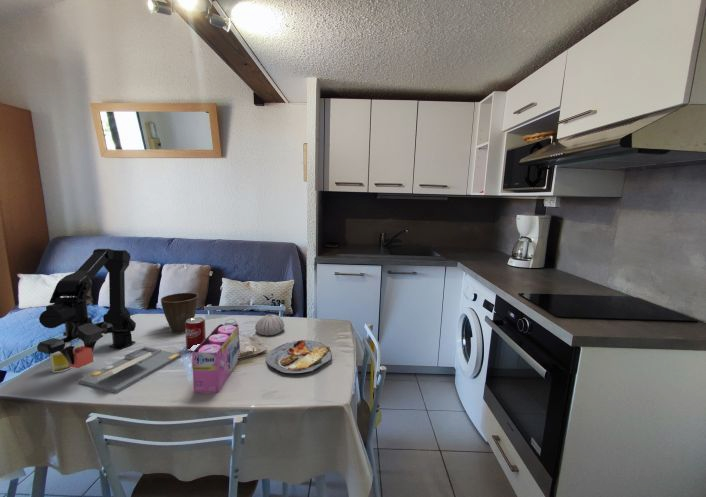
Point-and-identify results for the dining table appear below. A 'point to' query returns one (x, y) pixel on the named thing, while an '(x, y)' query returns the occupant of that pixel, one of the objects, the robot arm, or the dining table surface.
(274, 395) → the dining table surface
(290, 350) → the food plate
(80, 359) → the red block
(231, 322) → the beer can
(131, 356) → the socket
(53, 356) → the supplement bottle
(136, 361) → the yellow-striped white slab
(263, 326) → the sea urchin shell
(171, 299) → the plant pot
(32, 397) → the dining table surface
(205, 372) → the gum box
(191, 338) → the soda can
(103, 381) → the panel
